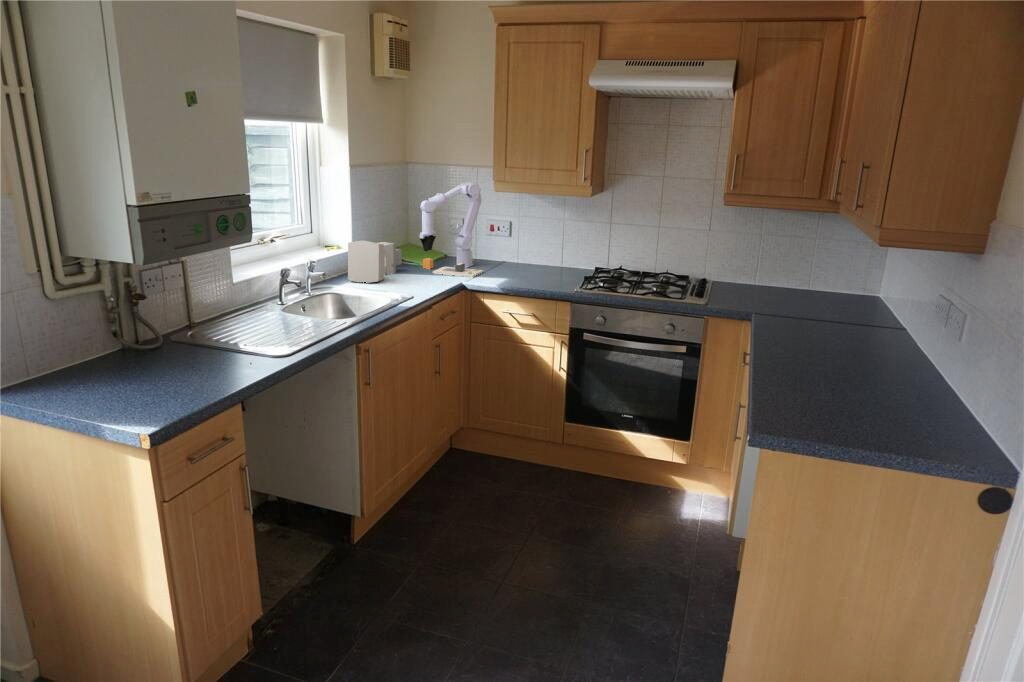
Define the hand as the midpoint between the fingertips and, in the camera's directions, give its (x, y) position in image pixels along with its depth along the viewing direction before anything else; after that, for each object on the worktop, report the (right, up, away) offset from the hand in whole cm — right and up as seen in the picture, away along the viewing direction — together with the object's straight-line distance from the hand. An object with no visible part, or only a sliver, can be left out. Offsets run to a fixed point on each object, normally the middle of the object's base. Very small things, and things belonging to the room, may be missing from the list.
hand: (427, 250), depth 354 cm
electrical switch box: (-25, -18, -27) cm, 41 cm away
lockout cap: (0, -9, +3) cm, 10 cm away
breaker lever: (+17, -11, -7) cm, 22 cm away
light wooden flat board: (+16, -12, -7) cm, 22 cm away
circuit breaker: (-19, -12, -9) cm, 24 cm away
